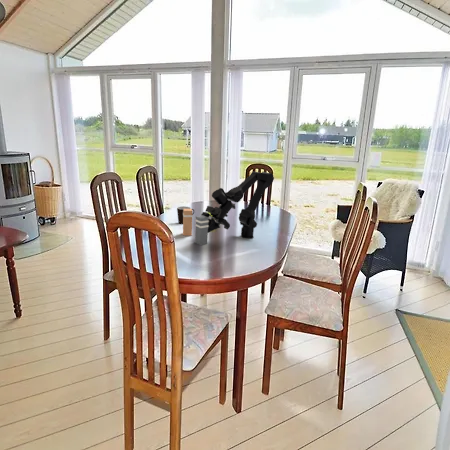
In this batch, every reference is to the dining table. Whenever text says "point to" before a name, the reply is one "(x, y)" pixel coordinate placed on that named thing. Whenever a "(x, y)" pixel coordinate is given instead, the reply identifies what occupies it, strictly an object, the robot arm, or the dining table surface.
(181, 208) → the coffee mug
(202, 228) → the post two bands
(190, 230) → the post one band
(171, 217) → the dining table surface
